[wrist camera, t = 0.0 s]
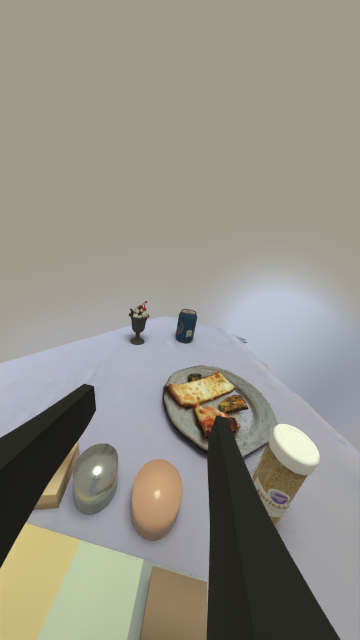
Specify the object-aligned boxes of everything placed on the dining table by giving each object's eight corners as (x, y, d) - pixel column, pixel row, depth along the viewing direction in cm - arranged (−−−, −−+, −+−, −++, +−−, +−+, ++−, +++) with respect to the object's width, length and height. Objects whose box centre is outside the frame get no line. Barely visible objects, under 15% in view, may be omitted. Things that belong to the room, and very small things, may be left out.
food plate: (199, 490, 24) (204, 474, 23) (147, 382, 43) (149, 370, 42) (293, 431, 37) (300, 419, 36) (221, 368, 56) (224, 358, 54)
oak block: (58, 509, 21) (56, 494, 20) (1, 513, 20) (-5, 498, 19) (79, 455, 26) (78, 441, 25) (35, 456, 25) (32, 442, 24)
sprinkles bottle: (247, 530, 21) (286, 459, 17) (237, 485, 26) (267, 419, 21) (283, 536, 21) (332, 467, 17) (267, 490, 26) (303, 425, 21)
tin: (104, 520, 20) (104, 495, 19) (65, 508, 21) (62, 483, 19) (123, 471, 25) (124, 448, 23) (91, 462, 25) (90, 439, 24)
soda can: (172, 335, 70) (177, 308, 66) (188, 335, 73) (193, 308, 69) (178, 344, 65) (184, 314, 61) (195, 343, 67) (201, 314, 63)
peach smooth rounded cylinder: (173, 548, 19) (178, 529, 18) (122, 532, 20) (124, 513, 18) (180, 483, 25) (185, 465, 24) (140, 472, 25) (143, 454, 24)
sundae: (150, 341, 63) (154, 302, 58) (137, 348, 57) (140, 305, 52) (137, 335, 66) (140, 297, 61) (123, 340, 60) (125, 299, 55)
